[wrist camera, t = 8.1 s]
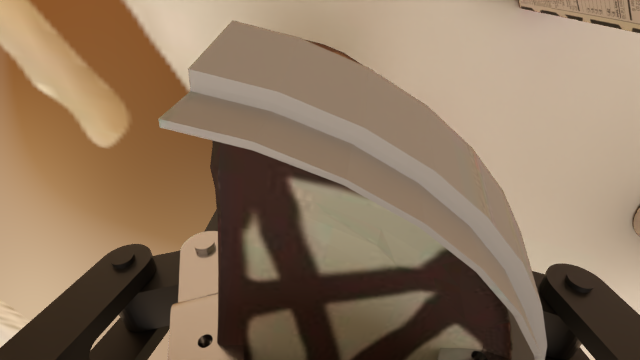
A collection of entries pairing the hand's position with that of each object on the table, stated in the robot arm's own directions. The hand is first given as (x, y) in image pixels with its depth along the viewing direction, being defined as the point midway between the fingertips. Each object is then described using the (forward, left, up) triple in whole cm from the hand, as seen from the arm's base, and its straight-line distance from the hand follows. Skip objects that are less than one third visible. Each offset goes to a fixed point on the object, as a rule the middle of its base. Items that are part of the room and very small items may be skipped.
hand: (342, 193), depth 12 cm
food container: (-1, 0, -2) cm, 2 cm away
